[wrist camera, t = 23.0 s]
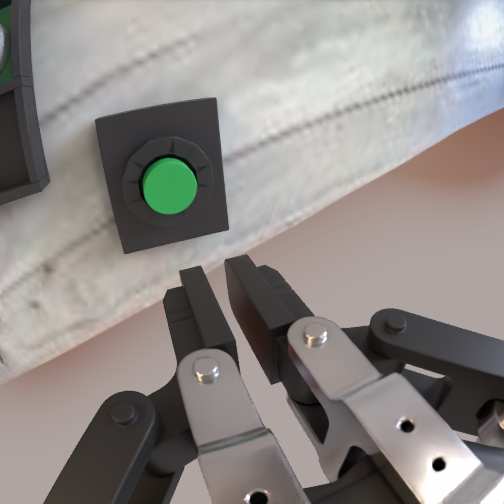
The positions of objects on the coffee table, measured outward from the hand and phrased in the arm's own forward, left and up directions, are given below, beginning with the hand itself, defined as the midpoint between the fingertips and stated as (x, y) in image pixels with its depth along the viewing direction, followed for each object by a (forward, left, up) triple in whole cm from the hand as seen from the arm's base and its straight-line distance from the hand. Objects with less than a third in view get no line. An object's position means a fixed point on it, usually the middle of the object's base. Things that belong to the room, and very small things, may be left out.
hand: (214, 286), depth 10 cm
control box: (0, 0, -17) cm, 17 cm away
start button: (0, 0, -13) cm, 13 cm away
